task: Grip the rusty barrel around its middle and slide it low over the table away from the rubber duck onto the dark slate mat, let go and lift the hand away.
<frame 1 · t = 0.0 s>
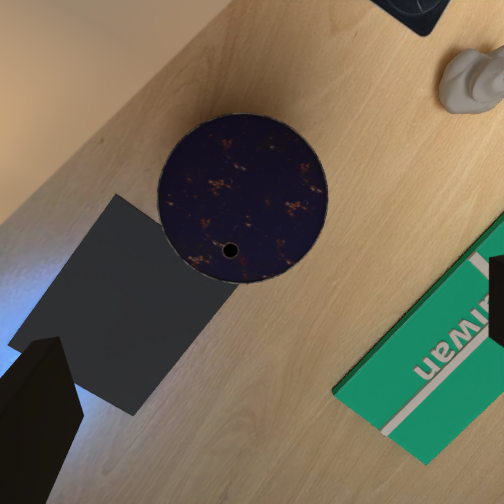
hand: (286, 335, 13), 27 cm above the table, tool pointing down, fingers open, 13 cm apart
sign: (464, 340, 45), on the table
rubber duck: (460, 83, 38), on the table
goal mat: (125, 313, 40), on the table
rusty barrel: (229, 178, 38), on the table
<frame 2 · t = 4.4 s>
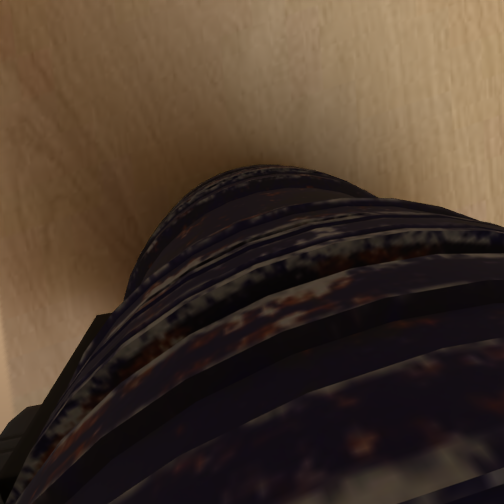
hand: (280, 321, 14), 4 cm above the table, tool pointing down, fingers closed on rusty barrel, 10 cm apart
rusty barrel: (264, 282, 17), on the table, touching gripper
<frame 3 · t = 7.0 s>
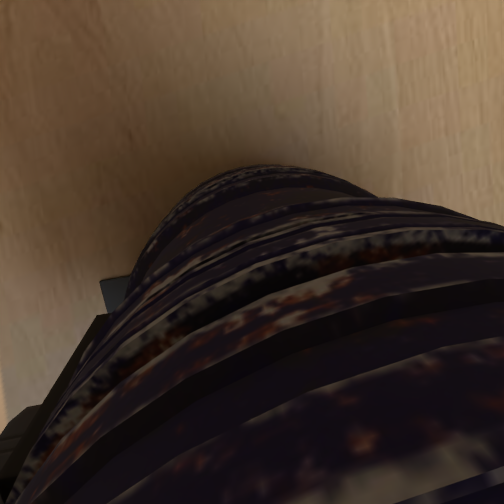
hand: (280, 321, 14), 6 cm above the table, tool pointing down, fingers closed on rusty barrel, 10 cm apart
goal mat: (280, 420, 21), on the table
rusty barrel: (264, 281, 17), point 2 cm above the table, touching gripper
when the fingers open (4 cm above the table, at t = 9.8 s): rusty barrel stays where it is, resting on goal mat.
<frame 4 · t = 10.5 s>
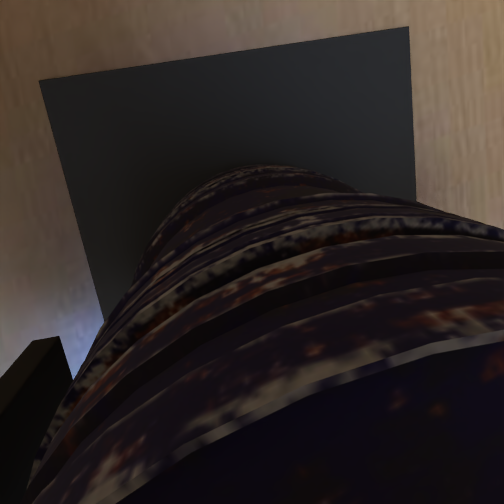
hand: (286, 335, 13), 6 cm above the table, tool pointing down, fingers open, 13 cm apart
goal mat: (262, 277, 18), on the table
rusty barrel: (262, 276, 18), resting on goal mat
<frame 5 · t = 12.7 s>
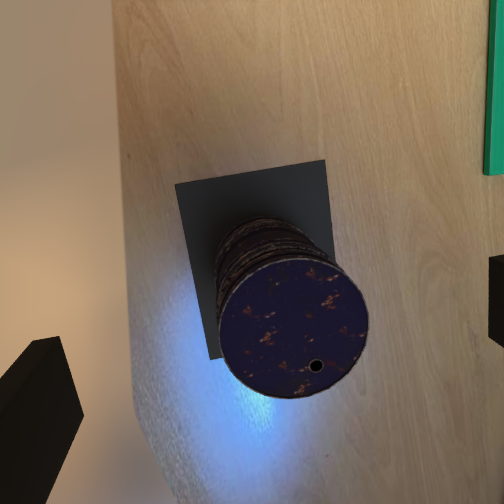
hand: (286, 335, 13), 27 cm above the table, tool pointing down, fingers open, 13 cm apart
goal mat: (264, 264, 41), on the table
rusty barrel: (264, 264, 41), resting on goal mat
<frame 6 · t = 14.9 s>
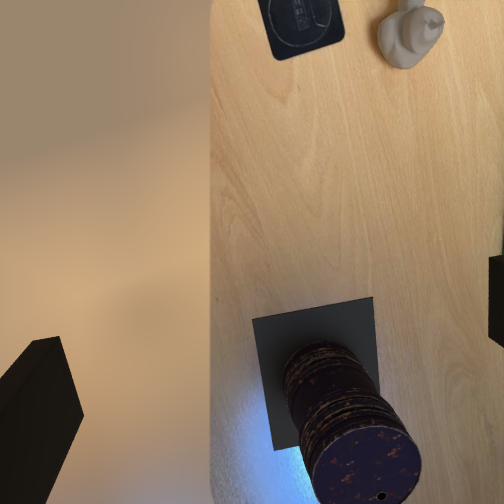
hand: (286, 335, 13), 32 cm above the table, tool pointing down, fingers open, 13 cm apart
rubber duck: (396, 36, 41), on the table
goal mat: (321, 376, 50), on the table
rusty barrel: (320, 376, 50), resting on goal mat
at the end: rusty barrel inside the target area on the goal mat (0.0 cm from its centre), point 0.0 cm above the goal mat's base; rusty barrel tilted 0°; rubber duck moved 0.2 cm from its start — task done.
